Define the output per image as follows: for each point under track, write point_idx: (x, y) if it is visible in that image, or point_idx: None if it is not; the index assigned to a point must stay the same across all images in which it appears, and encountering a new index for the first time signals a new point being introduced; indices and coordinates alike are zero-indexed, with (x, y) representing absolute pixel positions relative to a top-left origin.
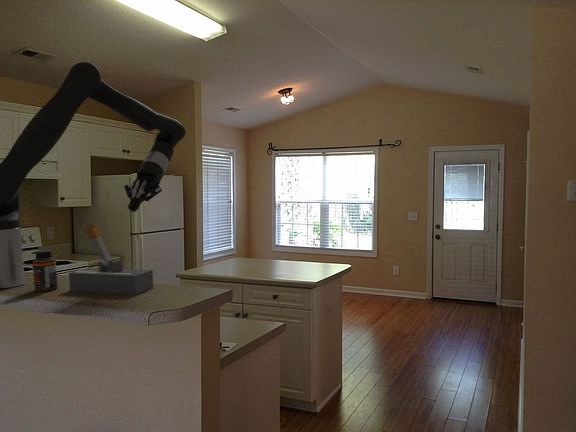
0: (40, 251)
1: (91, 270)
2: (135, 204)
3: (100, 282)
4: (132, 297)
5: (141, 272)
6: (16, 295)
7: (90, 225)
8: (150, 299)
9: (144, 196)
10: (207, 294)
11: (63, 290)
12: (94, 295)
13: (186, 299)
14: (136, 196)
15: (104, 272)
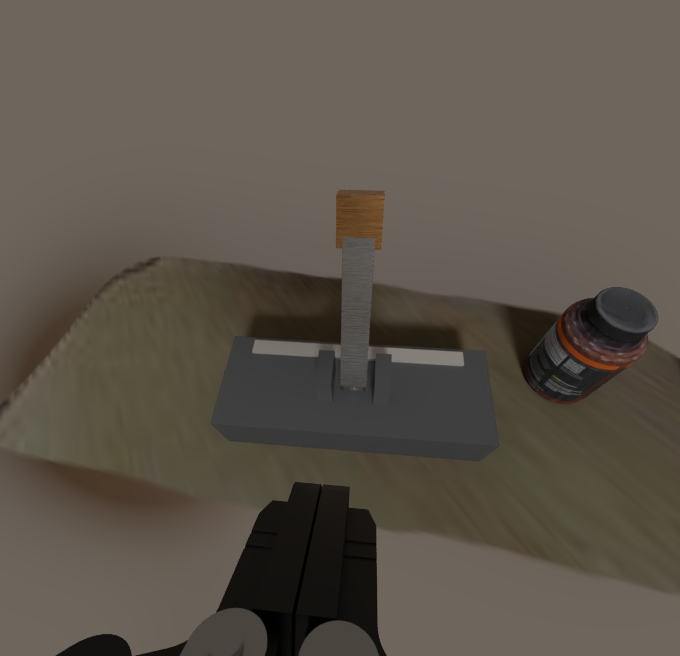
0: (620, 294)
1: (440, 395)
2: (267, 528)
3: None
4: None
5: (234, 382)
6: None
7: (367, 194)
8: (193, 328)
9: (85, 652)
10: (51, 386)
11: (492, 376)
12: None
13: (104, 339)
14: (260, 651)
15: None
